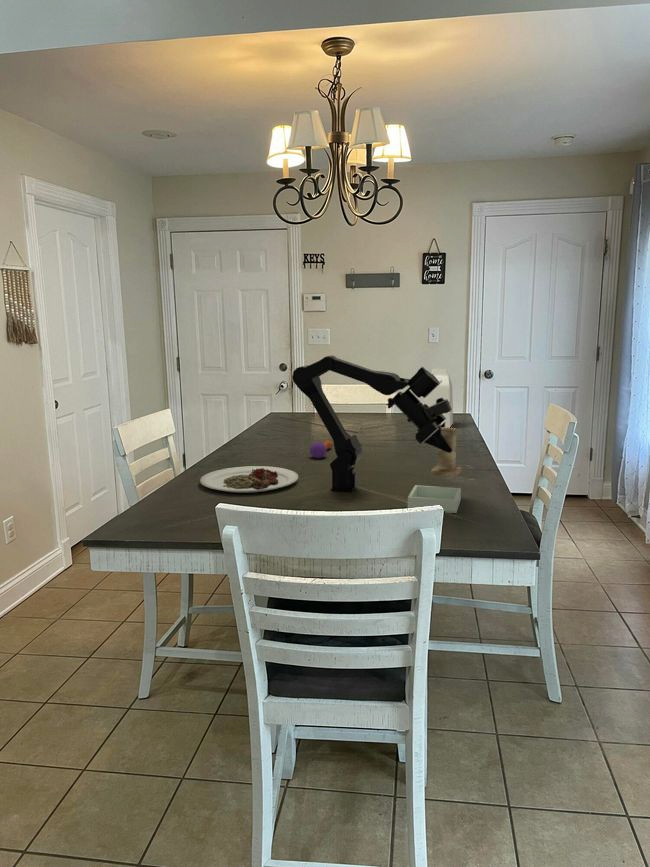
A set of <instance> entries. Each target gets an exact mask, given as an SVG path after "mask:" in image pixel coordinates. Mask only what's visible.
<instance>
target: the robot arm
mask: <svg viewBox="0 0 650 867" xmlns="http://www.w3.org/2000/svg"><path fill="white" fill-rule="evenodd" d="M330 371H331V372H333V373H336V374H338V375H342V376H344V377H347V378H350V379H353V380H356V381H358V382H362V383H364V384H366V385H368V386H369V387H370V388H372V389H373V390H374V391H376V392H378V393H380V394H382V395H383V396H391V395H393V394H395V393H396V394H395V395H394V396H393V397H388V398H387V408H388V409H391V408H393V407H394V406H395V407H396V408H397V409H399V411H400V412H401V413H402V414H403V415H404V416H405V417H406V418H407V419H406V420H407V422H408V423H410V422H411V424H412V425H414V426H415V428H416V429H417V430H416V431H417V432H416V433H415V441H417V442H418V444H419V445H420V444H422V443H423V442H424V444H427V445H430V446H433V447H435V448H437V449H438V448H439V449H441V450H443V451H446V452H448V453H450V452H451V451H452V449H451V448H450V446H449V445H448V443H447V442H446V440H445V439H444V437H443V436H442V434H441V428H442V427H445V424H446V423H445V422H444V423H443V424H442V425H441V423H442V422H443V421H444V420H445V419H446V418H445V417H444V416H443V415H442V414H443V413H448V412H450V411H451V410H452V409H451V406H450V402H448V400H447V399H446V400H444V399H443V398H442V397H441V398H439V399H437V400H436V404H434V405H432V406H430V407H429V406H428V405H427V404H425V403H424V404H423V403H422V402H421V401H420V400H419V399H420V398H421V397H422V398H424V399H425V397H426V396H428V395H429V394H430V393H431V392H432V391H433V390H434V389H435V388H436V387H437V386H438V385H439V384H440V383H439V381H438V380H437V378H436V377H435V376H434V375H433V374H431V372H430V371H429V370H427V369H426V368H425V367H424V366H421V367H420V368H419V369H418V370H417V372H416V373H415V374H414V375H413V376H412V377H410V378H404V377H400V376H399V374H397V373H395V372H390V371H389V372H388V371H381V370H373V369H370V368H367V367H363V366H361V365H359V364H356V363H353V362H350V361H347V360H344V359H341V358H339V357H337V356H335V355H326V356H324V357H323V358H322V359H320V360H318V361H316V362H313V363H311V364H306V365H302V366H299V367H296V368H295V369H294V371H293V372H292V376H291V377H292V378H291V380H292V381H293V383H294V385H295V386H296V387H297V388H298V390H299V391H300V392H302V393H303V394H304V395H305V396H306V397H307V398H308V399H309V400H310V402H311V404H312V405H313V408H314V409H315V411H316V413H317V415H318V416H319V418H320V419H321V421H322V423H323V425H324V426H325V429H326V430H327V432H328V434H329V435H330V437H331V439H332V444H333V448H334V452H335V455H336V457H335V459H333V461H332V462H330V464H329V467H330V469H331V477H332V478H331V487H330V491H338V492H350V493H351V492H353V491H354V490H355V489H356V488H357V487H358V473H357V472H356V467H354V466H356V463H357V462H358V461H359V460H360V459H361V458H362V456H363V449H362V447H363V444H362V443H361V442H360V441H359V439H358V437H357V435H356V434H353V435H350V434H349V433H348V432H347V431H346V429H345V428H344V426H343V424H342V421H340V418H339V417H338V415H337V414H336V412H335V409H334V408H333V406H332V405H331V403H330V402H329V399H328V398H327V396H326V394H325V392H324V391H323V387H322V386H323V385H322V381H321V378H320V377H321V376H323V375H325V374H326V373H328V372H330ZM407 387H408V388H407ZM405 388H407V389H406V390H404V391H400V390H403V389H405ZM398 391H399V392H398Z"/></svg>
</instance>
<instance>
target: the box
mask: <svg viewBox="0 0 650 867" xmlns="http://www.w3.org/2000/svg"><path fill="white" fill-rule="evenodd" d="M461 494H462V488H461V487H450V486H449V487H448V486H435V485H431V486H430V485H420V484H419V485H417V484H415V485H414V487H413V488H412V489H411V491H410V493H409V494H408V496H407V509H408V508H412V507H423V506H433V505H440V506H442V507H443V508H444V511H445V513H444V514H452V513H456V514H457V512H458V509H459V507H460V503H461V500H462V499H461V498H462V497H461V496H462V495H461Z"/></svg>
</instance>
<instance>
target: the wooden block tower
mask: <svg viewBox="0 0 650 867" xmlns="http://www.w3.org/2000/svg"><path fill="white" fill-rule="evenodd" d="M457 431H458V430H457V428H456V427H451V428H447V427H442V428H441V434H442V436H443V437H444V439H445V440H446V442H447V443H448V445H449V446H450V448H451V449H452V451H451V452H450V453H448V452H446V451H443V450H441V449H439V448H437V452H438V453H437V465H435V466H434V467H433V468H432V469H431V470H430V475H433V476H442V477H454V478H455V477H456V478H457V476H458V475H459V474H460V473H462V468H463V467H462V466H456V459H457V458H456V455H457V454H456V453H457Z"/></svg>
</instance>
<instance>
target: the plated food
mask: <svg viewBox="0 0 650 867" xmlns="http://www.w3.org/2000/svg"><path fill="white" fill-rule="evenodd" d="M298 479H299V474H298V473H297V472H296V471H293V470H290V469H287V468H283V467H277V466H276V467H275V466H267V465H266V466H264V465H263V466H262V465H258V466H257V465H252V466H251V465H249V466H237V467H235V466H234V467H228V468H222V469H218V470H214V471H211V472H208V473H206V474H204V475H203V476H201V477H200V481H199V482H200V484H201V485H202V486H203V487H206V488H209V489H212V490H217V491H222V492H229V493H236V494H237V493H243V494H245V493H247V494H249V493H260V492H261V493H263V492H268V491H273V490H277V489H279V488H280V489H281V488H284V487H287V486H290V485H292V484H294V483H296V482H297V481H298Z"/></svg>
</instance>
